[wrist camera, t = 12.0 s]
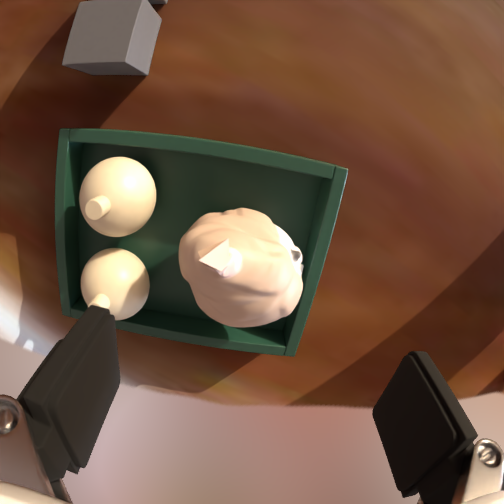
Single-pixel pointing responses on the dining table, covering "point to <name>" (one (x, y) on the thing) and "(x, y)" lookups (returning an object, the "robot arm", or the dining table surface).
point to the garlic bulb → (241, 268)
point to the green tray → (185, 215)
